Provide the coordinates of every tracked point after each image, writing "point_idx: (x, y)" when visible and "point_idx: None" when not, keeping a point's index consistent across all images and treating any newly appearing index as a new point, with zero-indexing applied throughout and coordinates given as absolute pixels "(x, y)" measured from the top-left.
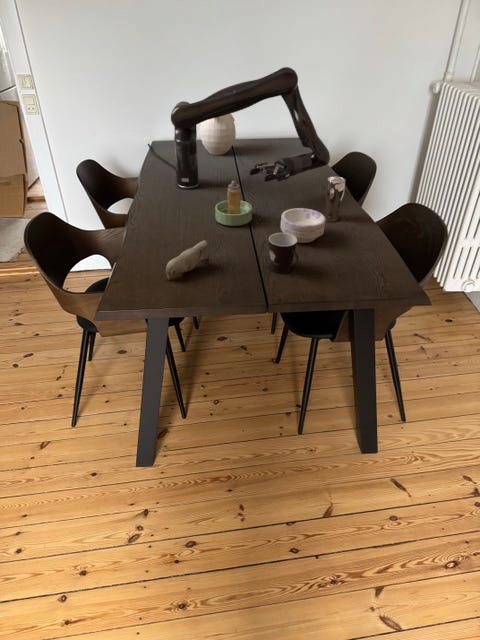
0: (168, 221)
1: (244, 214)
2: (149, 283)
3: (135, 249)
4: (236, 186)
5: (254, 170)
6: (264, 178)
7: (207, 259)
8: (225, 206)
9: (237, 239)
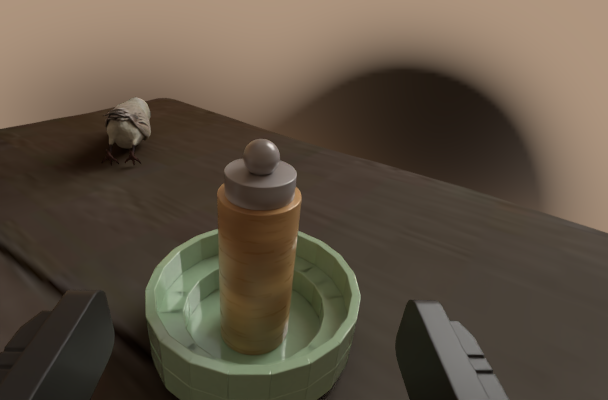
0: (376, 205)
1: (152, 276)
2: (164, 121)
3: (282, 142)
4: (238, 171)
5: (430, 372)
6: (104, 311)
7: (108, 154)
8: (346, 316)
9: (113, 252)
